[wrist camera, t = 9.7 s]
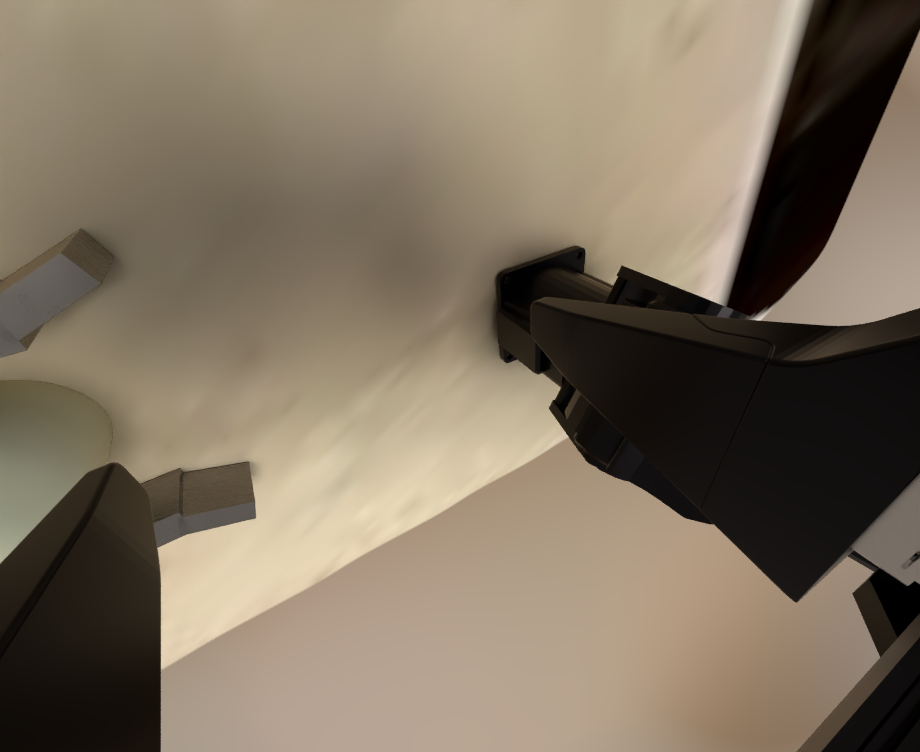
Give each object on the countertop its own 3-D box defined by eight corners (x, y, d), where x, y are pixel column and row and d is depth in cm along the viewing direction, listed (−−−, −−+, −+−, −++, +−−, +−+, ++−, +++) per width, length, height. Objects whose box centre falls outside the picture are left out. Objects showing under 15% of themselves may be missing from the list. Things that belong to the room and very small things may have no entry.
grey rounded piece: (60, 361, 16) (-1, 485, 11) (138, 449, 19) (120, 577, 14) (-116, 414, 14) (-285, 590, 9) (2, 501, 17) (-75, 667, 12)
